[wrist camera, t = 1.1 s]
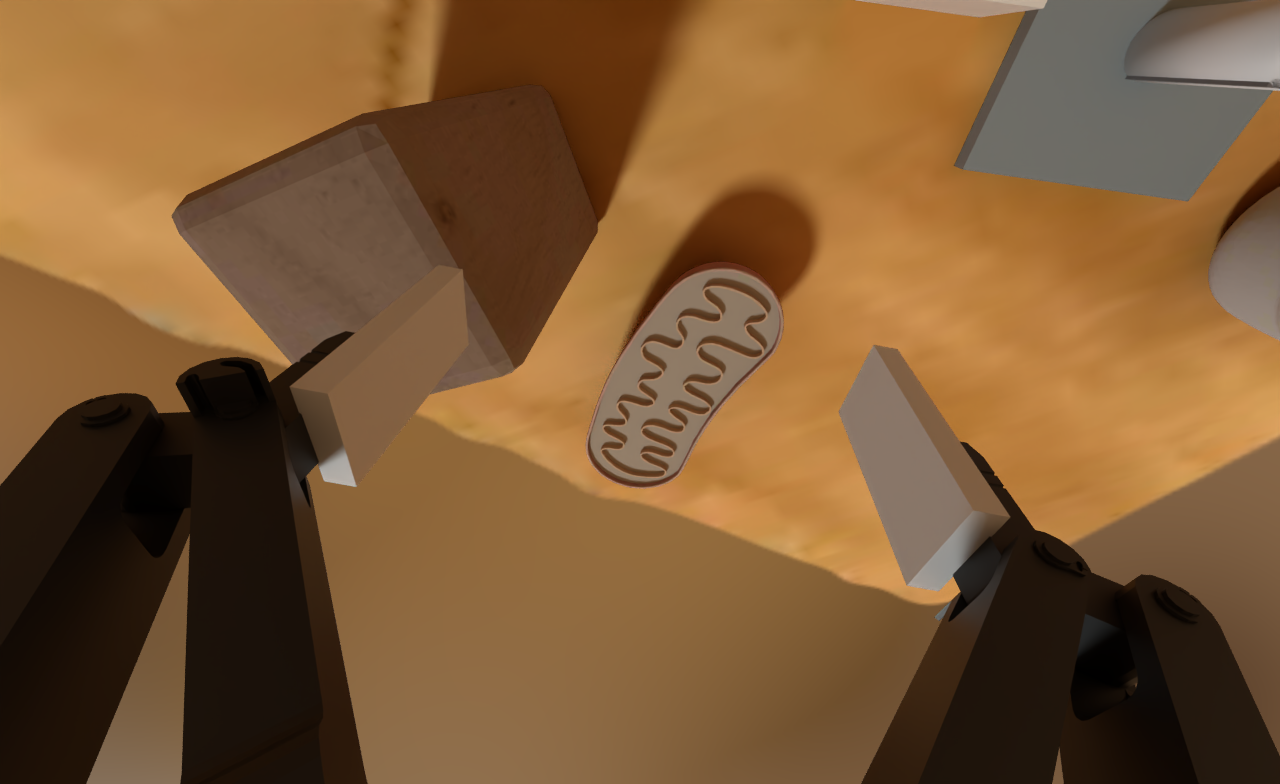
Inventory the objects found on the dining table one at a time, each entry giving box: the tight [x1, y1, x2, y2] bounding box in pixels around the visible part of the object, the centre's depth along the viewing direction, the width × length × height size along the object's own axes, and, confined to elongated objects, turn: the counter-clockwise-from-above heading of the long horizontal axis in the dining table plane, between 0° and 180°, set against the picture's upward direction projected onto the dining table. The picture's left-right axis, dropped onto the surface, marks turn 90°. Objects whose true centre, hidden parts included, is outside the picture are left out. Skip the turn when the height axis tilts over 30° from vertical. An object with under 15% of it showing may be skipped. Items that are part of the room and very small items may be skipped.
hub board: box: [954, 0, 1280, 201], centre depth 22 cm, size 14×14×9 cm
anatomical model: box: [586, 262, 784, 489], centre depth 39 cm, size 23×10×5 cm, turn 155°
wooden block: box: [172, 85, 598, 394], centre depth 26 cm, size 10×10×20 cm
